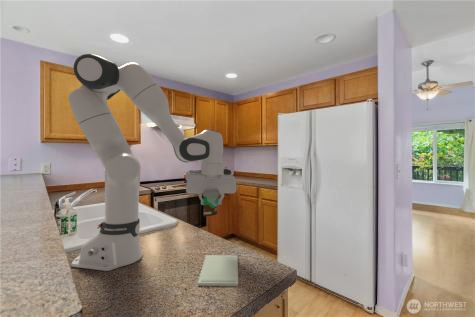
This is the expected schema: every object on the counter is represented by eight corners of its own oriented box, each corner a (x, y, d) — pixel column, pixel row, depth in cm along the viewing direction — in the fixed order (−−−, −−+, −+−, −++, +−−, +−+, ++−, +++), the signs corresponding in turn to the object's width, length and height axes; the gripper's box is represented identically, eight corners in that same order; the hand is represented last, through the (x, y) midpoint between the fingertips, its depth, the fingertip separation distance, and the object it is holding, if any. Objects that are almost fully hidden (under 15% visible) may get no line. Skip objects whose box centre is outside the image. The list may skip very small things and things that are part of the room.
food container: (219, 217, 85) (219, 191, 85) (203, 217, 85) (203, 191, 85) (220, 210, 97) (221, 187, 97) (206, 209, 97) (207, 186, 97)
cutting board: (197, 285, 66) (197, 282, 66) (205, 257, 85) (206, 254, 85) (238, 286, 66) (238, 283, 66) (237, 257, 85) (237, 255, 85)
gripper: (185, 170, 86) (184, 206, 86) (237, 171, 90) (236, 205, 90) (186, 169, 92) (185, 203, 92) (235, 170, 96) (234, 202, 96)
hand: (211, 204), depth 91 cm, fingers closed on food container, 5 cm apart
